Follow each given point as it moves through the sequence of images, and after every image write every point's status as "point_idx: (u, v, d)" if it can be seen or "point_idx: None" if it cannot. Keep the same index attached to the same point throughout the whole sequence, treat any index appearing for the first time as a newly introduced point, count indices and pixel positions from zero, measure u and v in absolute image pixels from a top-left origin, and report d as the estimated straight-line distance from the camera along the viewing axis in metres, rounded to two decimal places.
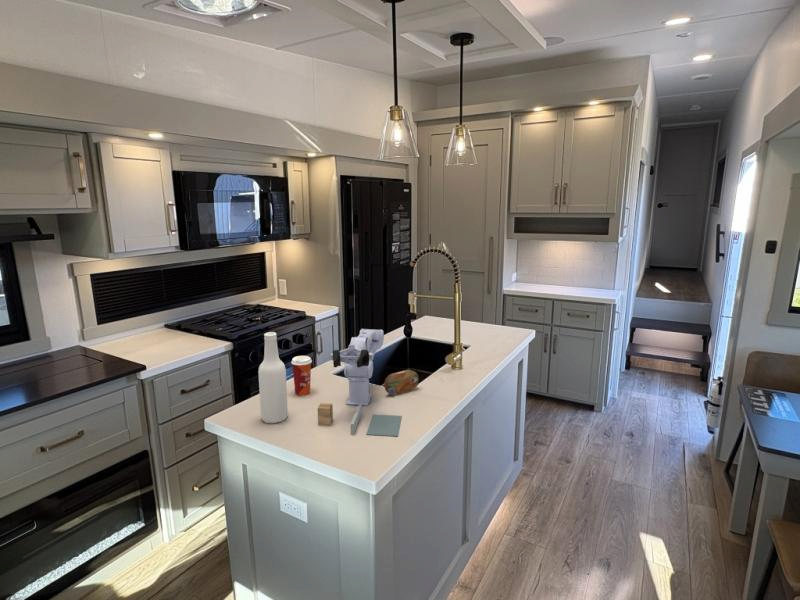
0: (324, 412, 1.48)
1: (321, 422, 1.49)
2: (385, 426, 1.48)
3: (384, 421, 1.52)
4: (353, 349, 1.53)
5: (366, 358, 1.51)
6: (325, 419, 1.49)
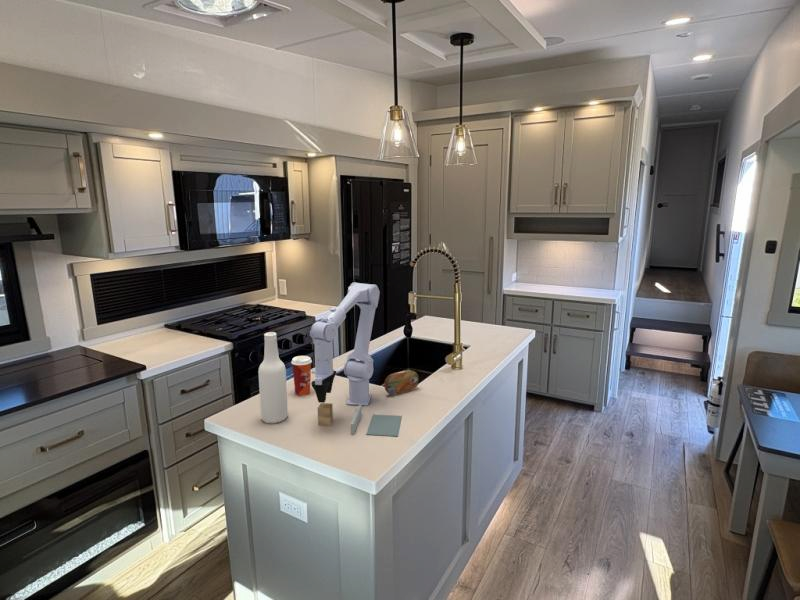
0: (324, 412, 1.48)
1: (321, 422, 1.49)
2: (385, 426, 1.48)
3: (384, 421, 1.52)
4: None
5: None
6: (325, 419, 1.49)
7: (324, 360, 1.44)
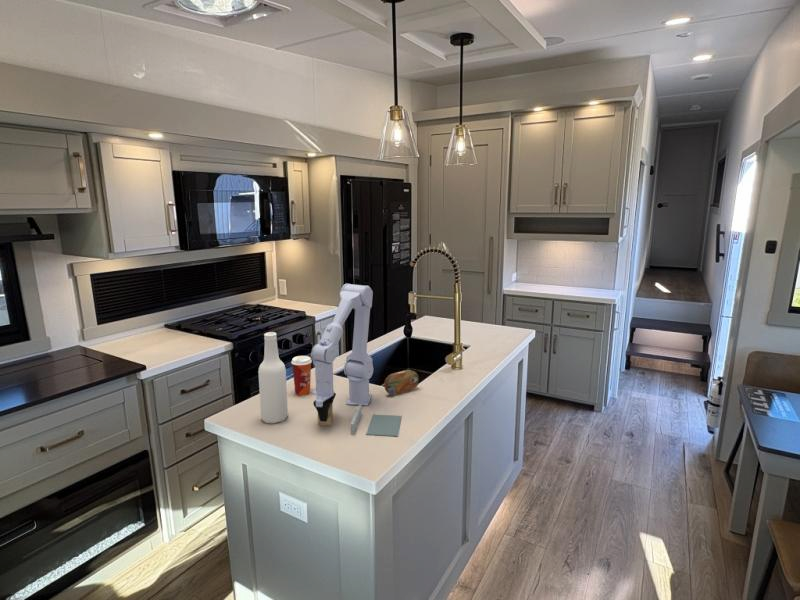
0: None
1: (321, 422, 1.49)
2: (385, 426, 1.48)
3: (384, 421, 1.52)
4: None
5: None
6: None
7: (325, 382, 1.45)
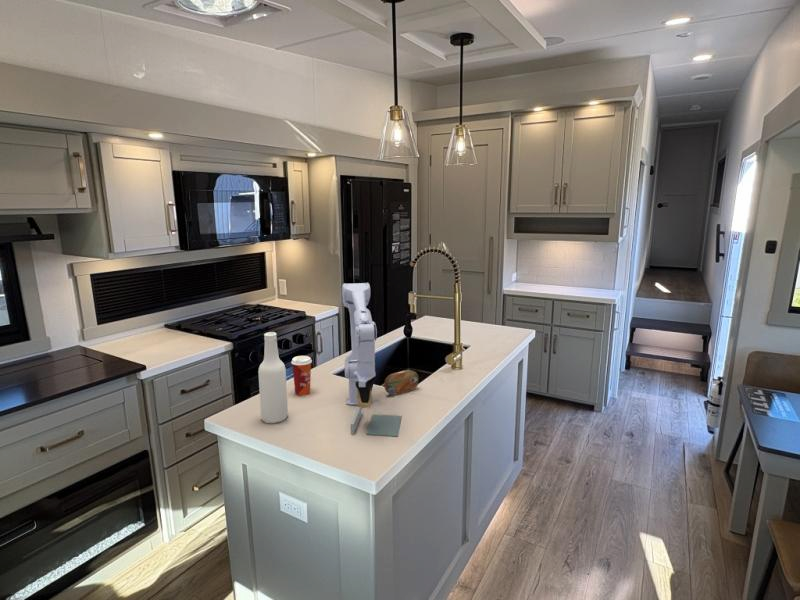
0: None
1: (361, 404, 1.47)
2: (385, 426, 1.48)
3: (384, 421, 1.52)
4: None
5: None
6: None
7: (367, 362, 1.43)
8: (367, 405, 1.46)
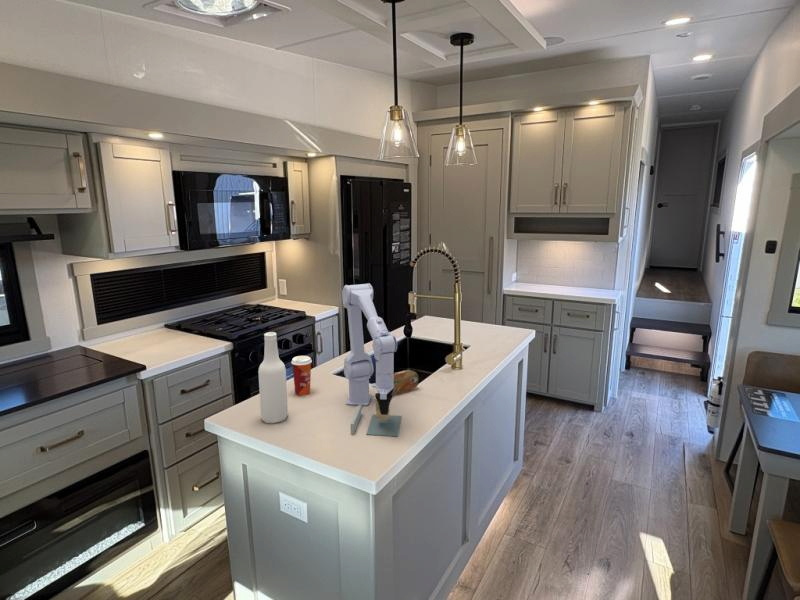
0: None
1: (379, 416, 1.47)
2: (385, 426, 1.48)
3: (384, 421, 1.52)
4: None
5: None
6: None
7: (387, 374, 1.43)
8: (386, 417, 1.47)
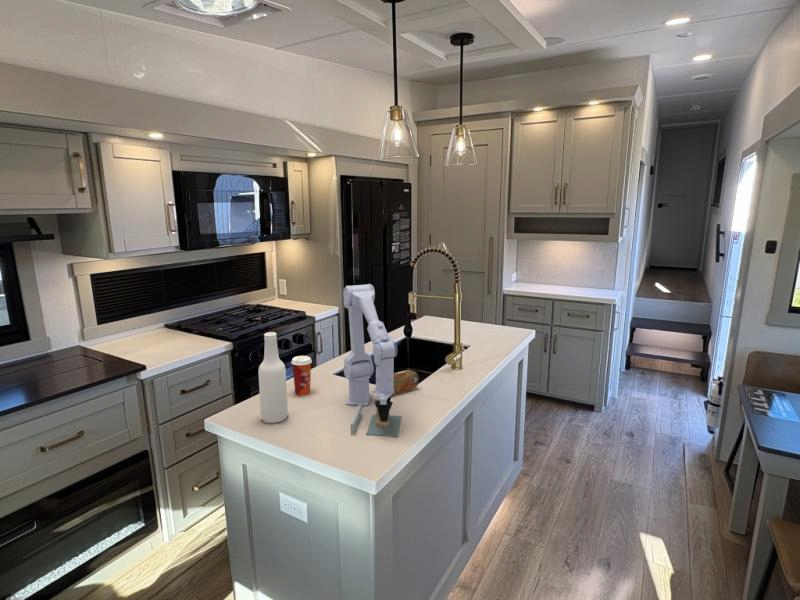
0: None
1: (379, 424, 1.47)
2: None
3: None
4: None
5: None
6: None
7: (387, 379, 1.43)
8: (386, 425, 1.47)
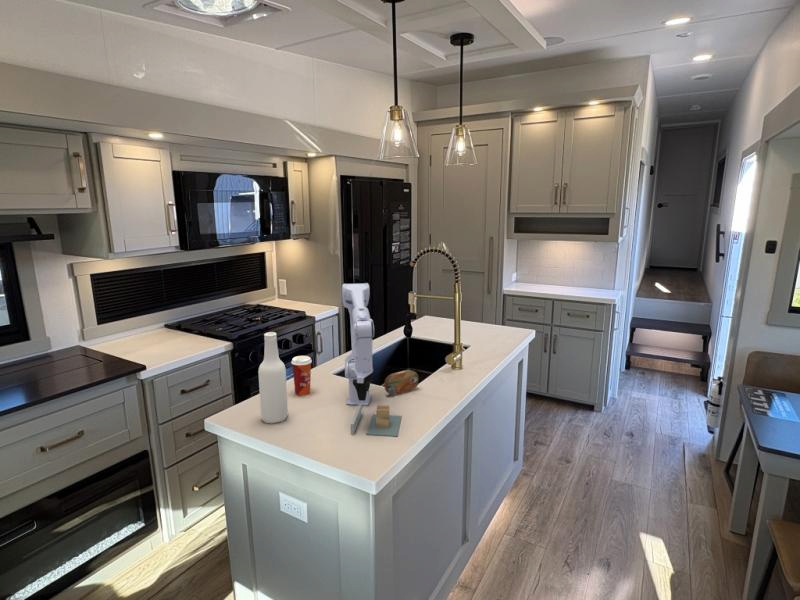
0: (383, 414, 1.47)
1: (379, 424, 1.47)
2: None
3: None
4: None
5: None
6: (383, 421, 1.47)
7: (365, 358, 1.45)
8: (386, 425, 1.47)
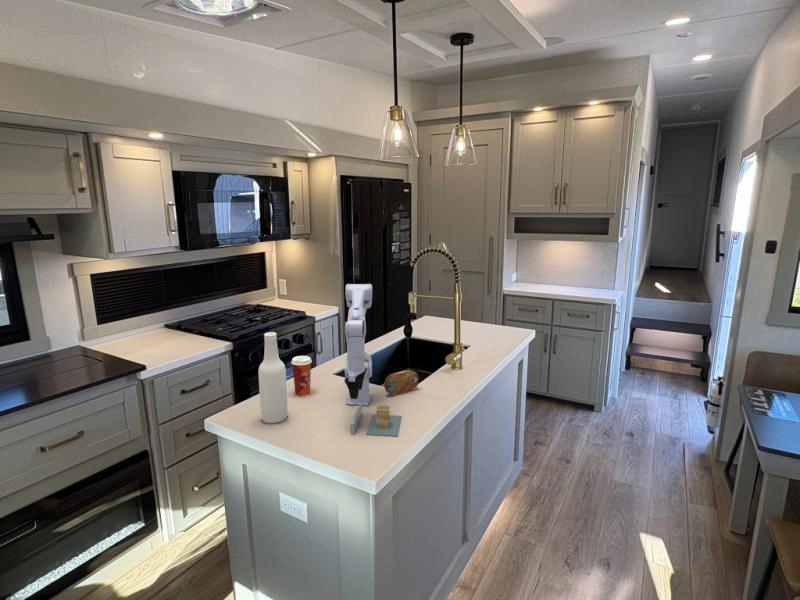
0: (383, 414, 1.47)
1: (379, 424, 1.47)
2: None
3: None
4: None
5: None
6: (383, 421, 1.47)
7: (357, 357, 1.46)
8: (386, 425, 1.47)
